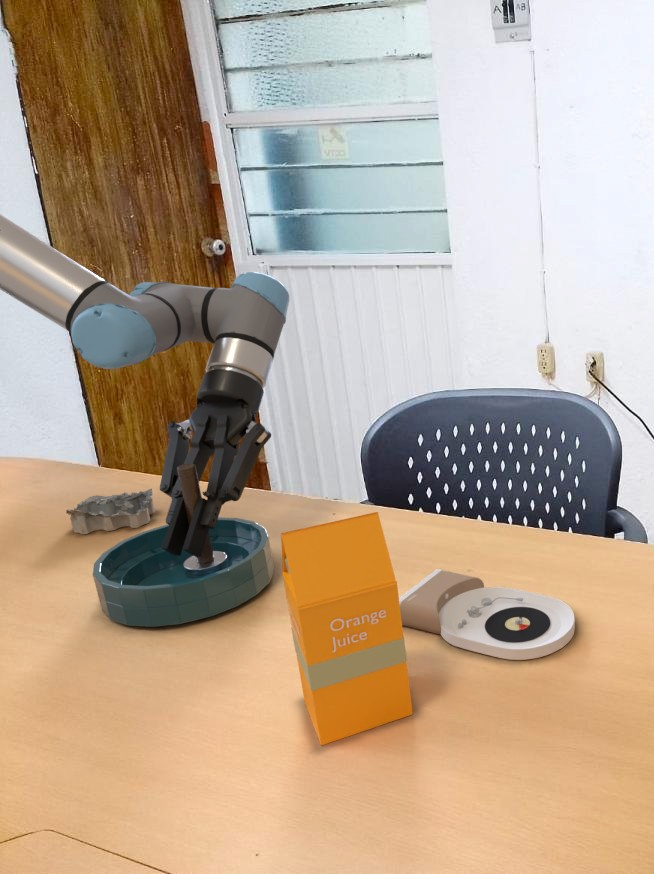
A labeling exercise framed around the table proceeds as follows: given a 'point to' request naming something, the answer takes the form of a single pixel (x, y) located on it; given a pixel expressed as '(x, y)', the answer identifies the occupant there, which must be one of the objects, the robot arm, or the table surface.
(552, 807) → the table surface
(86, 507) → the egg carton
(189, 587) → the bowl
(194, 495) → the brown rod
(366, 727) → the orange juice
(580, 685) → the table surface
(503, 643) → the record player
